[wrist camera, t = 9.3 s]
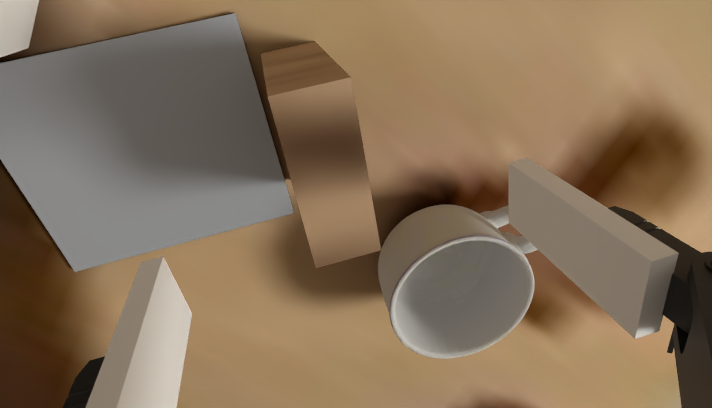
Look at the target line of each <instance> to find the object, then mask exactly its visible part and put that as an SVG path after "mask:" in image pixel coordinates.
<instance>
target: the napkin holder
mask: <svg viewBox="0 0 712 408" xmlns="http://www.w3.org/2000/svg"><path fill="white" fill-rule="evenodd" d="M38 3H39V0H0V57H3V56H6V55H9V54H12V53H15V52H18V51H21V50H24V49H27V48H29V44H30V39H31V35H32V30H33V25H34V21H35V16H36V12H37V7H38Z"/></svg>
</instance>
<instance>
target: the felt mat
mask: <svg viewBox="0 0 712 408" xmlns="http://www.w3.org/2000/svg"><path fill="white" fill-rule="evenodd" d="M0 159H1V161H2V162H3V164H4V165H5V167H6V168H7V170H8V171H9V173H10V174H11V176H12V177H13V179H14V180H15V182H16V184H17V185H18V187H19V188H20V190H21V191H22V193H23V194H24V196H25V197H26V199H27V200H28V202H29V203H30V205H31V206H32V208H33V209H34V211H35V212H36V214H37V215H38V217H39V218H40V220H41V221H42V223H43V224H44V226H45V227H46V229H47V230H48V232H49V233H50V235H51V236H52V238H53V239H54V241H55V242H56V244H57V245H58V247H59V248H60V250H61V251H62V253H63V255H64V256H65V258H66V259H67V261H68V262H69V264H70V265H71V267H72V268H73V270H74V271H75V272H76V271H80V270H84V269H87V268H91V267H95V266H99V265H102V264H106V263H110V262H114V261H117V260H121V259H125V258H128V257H132V256H136V255H140V254H143V253H147V252H151V251H155V250H158V249H162V248H166V247H170V246H173V245H177V244H181V243H184V242H188V241H192V240H196V239H199V238H203V237H207V236H211V235H214V234H218V233H222V232H226V231H229V230H233V229H237V228H241V227H244V226H248V225H252V224H255V223H259V222H263V221H267V220H270V219H274V218H278V217H282V216H285V215H289V214H293V213H294V210H293V207H292V203H291V200H290V196H289V193H288V190H287V186H286V183H285V179H284V176H283V173H282V169H281V166H280V163H279V159H278V156H277V152H276V149H275V146H274V142H273V139H272V135H271V132H270V129H269V125H268V122H267V118H266V115H265V112H264V108H263V105H262V101H261V98H260V95H259V91H258V88H257V84H256V81H255V78H254V74H253V71H252V67H251V64H250V61H249V57H248V54H247V50H246V47H245V44H244V40H243V37H242V34H241V30H240V27H239V23H238V20H237V17H236V13H232V14H227V15H223V16H218V17H213V18H209V19H204V20H199V21H194V22H190V23H185V24H180V25H176V26H171V27H166V28H162V29H157V30H152V31H148V32H143V33H138V34H134V35H129V36H124V37H119V38H115V39H110V40H105V41H101V42H96V43H91V44H87V45H82V46H77V47H73V48H68V49H63V50H58V51H54V52H49V53H44V54H40V55H35V56H30V57H26V58H21V59H16V60H12V61H7V62H2V63H0Z"/></svg>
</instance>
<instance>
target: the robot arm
mask: <svg viewBox="0 0 712 408" xmlns="http://www.w3.org/2000/svg"><path fill="white" fill-rule="evenodd" d="M509 223H510V224H511V225H512V226H513V227H514V228H515V229H516V230H517V231H519V232H520V233H521V234H522V235H523V236H524V237H525V238H526V239H527V240H528V241H529V242H530V243H532V244H533V245H534V246H535V247H536V248H537V249H538V250H539V251H540V252H541V253H542V254H543V255H545V256H546V257H547V258H548V259H549V260H550V261H551V262H552V263H553V264H554V265H555V266H557V267H558V268H559V269H560V270H561V271H562V272H563V273H564V274H565V275H566V276H567V277H568V278H570V279H571V280H572V281H573V282H574V283H575V284H576V285H577V286H578V287H579V288H580V289H581V290H583V291H584V292H585V293H586V294H587V295H588V296H589V297H590V298H591V299H592V300H593V301H594V302H596V303H597V304H598V305H599V306H600V307H601V308H602V309H603V310H604V311H605V312H606V313H607V314H609V315H610V316H611V317H612V318H613V319H614V320H615V321H616V322H617V323H618V324H619V325H620V326H622V327H623V328H624V329H625V330H626V331H627V332H628V333H629V334H630V335H631V336H632V337H634V338H635V339H636V338H639V337H642V336H645V335H648V334H651V333H654V332H657V331H659V330H660V326H661V322H662V318H663V315H664V316H666V317H667V318H668V319H669V320H671V321H672V322H673V323H674V328H673V332H672V335H671V339H670V343H669V346H668V351H667V352H668V353H672V352H673V348H674V350H675V358H676V366H677V374H678V381H679V389H680V397H681V405H682V408H712V252H704V253H701V252H699V251H697V250H696V249H694V248H692V247H691V246H689V245H687V244H686V243H684V242H682V241H680V240H679V239H677V238H675V237H674V236H672V235H670V234H669V233H667V232H665V231H664V230H662V229H658V227H657V226H655V225H654V224H652V223H650V222H647V220H645V219H644V218H642V217H640V216H639V215H637V214H635V213H634V212H631V211H628V210H625V209H622V208H619V207H616V206H614V207H610V208H606V207H605V206H603V205H602V204H600V203H598V202H597V201H595V200H594V199H592V198H590V197H589V196H587V195H586V194H584V193H583V192H581V191H579V190H578V189H576V188H575V187H573V186H571V185H570V184H568V183H567V182H565V181H563V180H562V179H560V178H559V177H557V176H556V175H554V174H552V173H551V172H549V171H548V170H546V169H544V168H543V167H541V166H540V165H538V164H536V163H535V162H533V161H532V160H530V159H529V158H524V159H520V160H517V161H513V162H509ZM191 317H192V313H191V311H190V309H189V307H188V305H187V303H186V301H185V299H184V297H183V295H182V293H181V291H180V289H179V287H178V285H177V283H176V281H175V279H174V277H173V275H172V273H171V271H170V269H169V267H168V265H167V263H166V261H165V259H164V257H159V258H156V259H152V260H148V261H145V262H141V264H140V266H139V269H138V271H137V274H136V277H135V279H134V282H133V285H132V287H131V290H130V292H129V295H128V298H127V300H126V303H125V306H124V308H123V311H122V313H121V316H120V319H119V321H118V324H117V327H116V329H115V332H114V334H113V337H112V340H111V342H110V345H109V348H108V350H107V353H106V355H105V356H104V357H101V358H98V359H94V360H91V361H89V362H88V363H87V365H86V366H85V367H84V368H83V369H82V371H81V372H80V373H79V374H78V376H77V377H76V378H75V381H74V383H73V385H72V387H71V390H70V392H69V394H68V395H69V397H68V398H67V399H66V401H65V404H64V406H63V408H176V406H177V400H178V394H179V389H180V383H181V377H182V371H183V365H184V359H185V353H186V347H187V341H188V335H189V329H190V323H191Z"/></svg>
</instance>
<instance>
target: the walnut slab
mask: <svg viewBox="0 0 712 408" xmlns="http://www.w3.org/2000/svg"><path fill="white" fill-rule="evenodd" d="M260 54H261V60H262V66H263V72H264V78H265V84H266V90H267V96H268V100H269V103H270V107H271V111H272V114H273V118H274V121H275V125H276V128H277V132H278V135H279V139H280V143H281V146H282V150H283V153H284V157H285V160H286V164H287V168H288V171H289V175H290V178H291V182H292V185H293V189H294V193H295V196H296V200H297V203H298V207H299V210H300V214H301V218H302V221H303V225H304V228H305V232H306V235H307V239H308V243H309V246H310V250H311V253H312V257H313V260H314V264H315V268H319V267H323V266H327V265H330V264H334V263H337V262H341V261H344V260H348V259H352V258H355V257H359V256H362V255H366V254H369V253H373V252H377V251H380V250H381V246H380V241H379V235H378V229H377V223H376V218H375V212H374V206H373V201H372V195H371V189H370V183H369V178H368V172H367V166H366V160H365V155H364V149H363V143H362V138H361V132H360V126H359V120H358V115H357V109H356V103H355V97H354V92H353V86H352V80H351V77H350V76H349V75H348V74H347V73H346V72H345V71H344V70H343V69H342V68H341V67H340V66H339V65H338V64H337V63H336V62H335V61H334V60H333V59H332V58H331V57H330V56H329V55H328V54H327V53H326V52H325V51H324V50H323V49H322V48H321V47H320V46H319V45H318V44H317V43H316V42H315V41H314V42H310V43H305V44H301V45H296V46H292V47H287V48H283V49H278V50H273V51H269V52H264V53H260Z"/></svg>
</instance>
